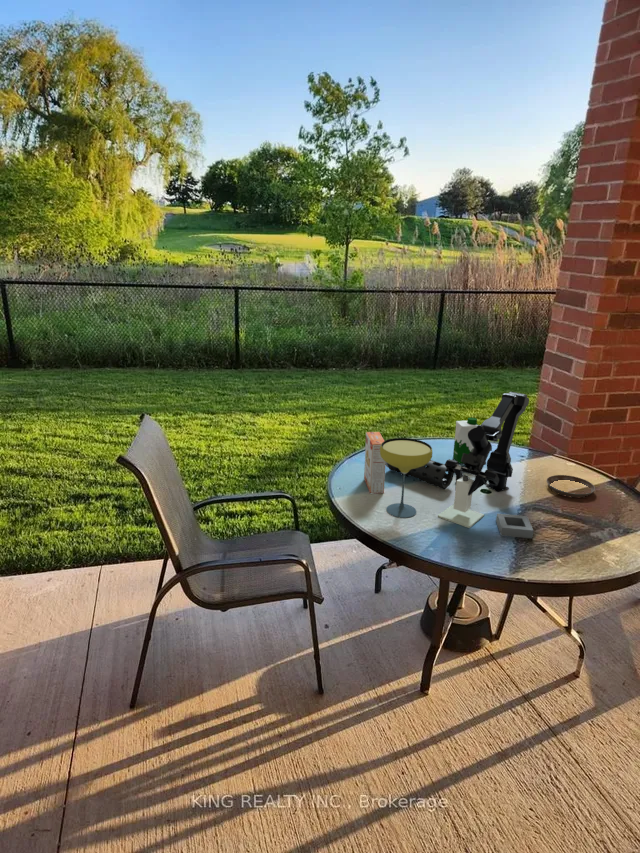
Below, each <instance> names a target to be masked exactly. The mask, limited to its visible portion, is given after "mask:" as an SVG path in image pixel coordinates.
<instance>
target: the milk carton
mask: <svg viewBox="0 0 640 853" xmlns="http://www.w3.org/2000/svg"><path fill="white" fill-rule="evenodd" d="M478 425H479V424H478V418H476V417H472V416H471V417H468V418H467V420H456V421H455V431H454V444H453V453H452V454H453V456H452V458H453V460H454V461H458V463H459V465H464V464H463V462H461V459H462V456H463V453H465V454H469V453H470V452H472V450H473V448H474V447H473V446H472V444H471V442H470V440H469V438H468V432H469V431H470V430H471V429H473V428H476V427H477V426H478Z"/></svg>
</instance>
